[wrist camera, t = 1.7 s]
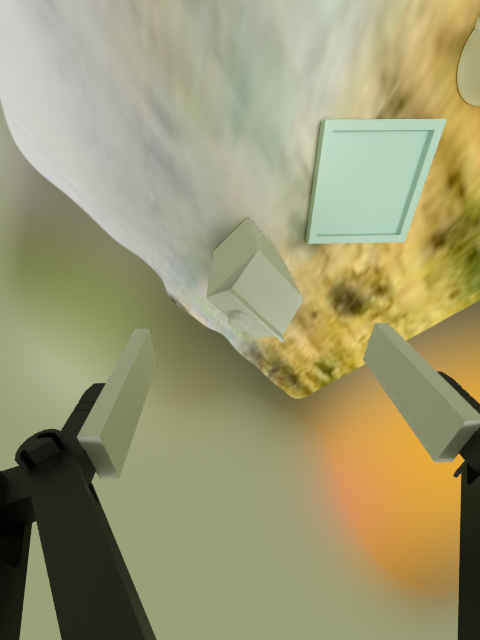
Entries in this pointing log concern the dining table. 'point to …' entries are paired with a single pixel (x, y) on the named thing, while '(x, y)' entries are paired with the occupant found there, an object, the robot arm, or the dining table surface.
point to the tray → (369, 178)
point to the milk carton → (252, 284)
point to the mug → (470, 68)
